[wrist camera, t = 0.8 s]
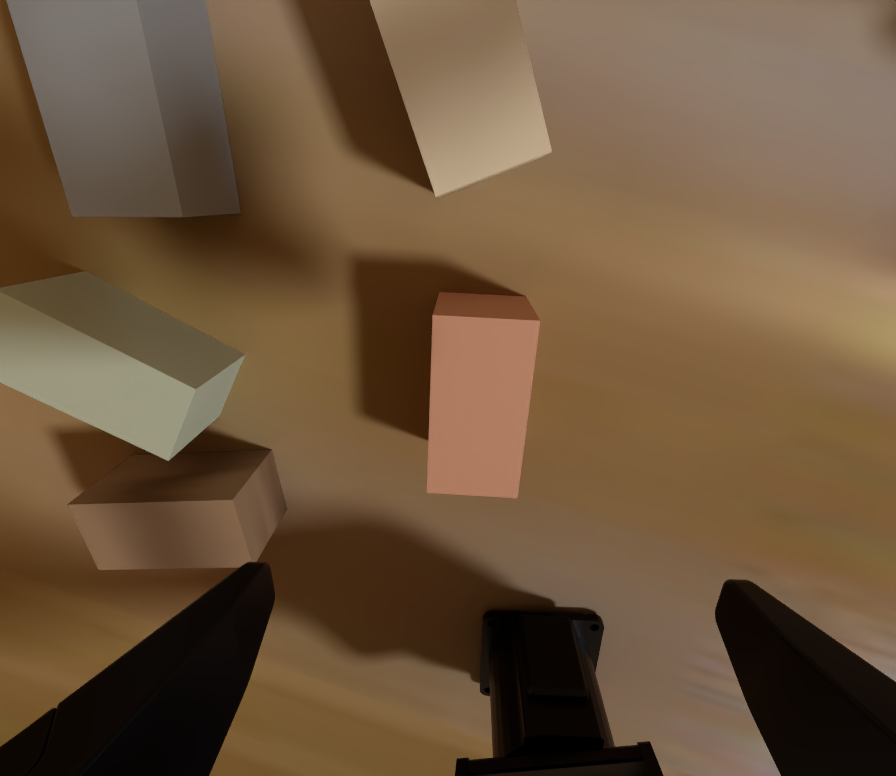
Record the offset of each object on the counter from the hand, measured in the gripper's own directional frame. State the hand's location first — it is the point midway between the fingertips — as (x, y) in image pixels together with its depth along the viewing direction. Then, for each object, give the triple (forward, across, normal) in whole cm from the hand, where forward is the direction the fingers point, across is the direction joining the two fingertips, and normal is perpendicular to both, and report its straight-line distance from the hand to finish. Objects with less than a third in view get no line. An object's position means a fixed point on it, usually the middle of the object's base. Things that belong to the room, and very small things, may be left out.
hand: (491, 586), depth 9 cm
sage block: (+12, +14, -1) cm, 18 cm away
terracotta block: (+12, 0, 0) cm, 12 cm away
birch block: (+12, +1, -11) cm, 16 cm away
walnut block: (+12, +13, +6) cm, 19 cm away
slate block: (+12, +11, -10) cm, 19 cm away
